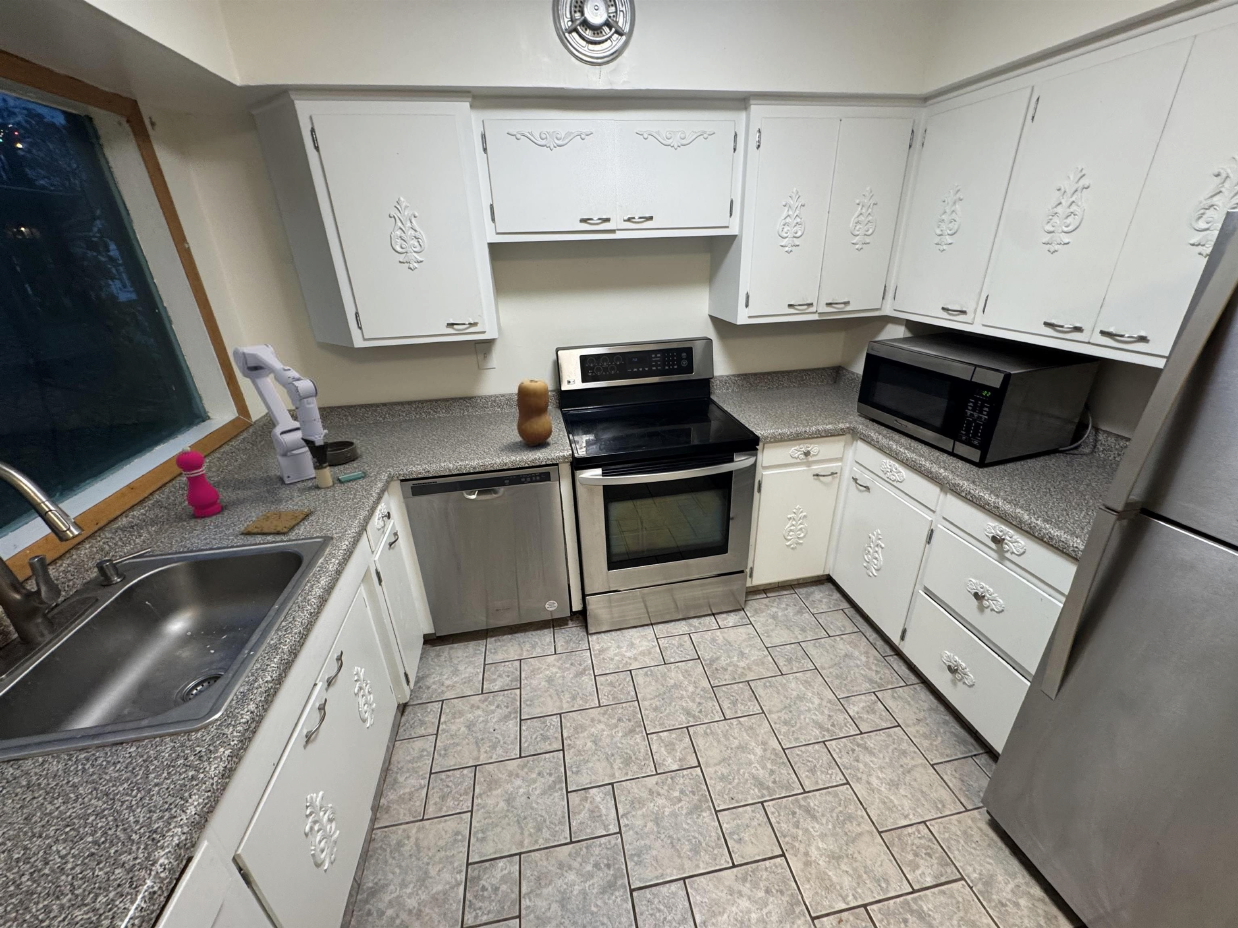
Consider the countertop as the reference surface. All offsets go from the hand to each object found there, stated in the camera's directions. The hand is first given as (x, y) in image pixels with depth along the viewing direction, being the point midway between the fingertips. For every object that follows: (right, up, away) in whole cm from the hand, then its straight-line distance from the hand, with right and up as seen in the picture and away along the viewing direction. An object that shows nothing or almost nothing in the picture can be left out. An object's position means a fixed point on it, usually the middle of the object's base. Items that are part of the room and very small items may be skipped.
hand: (319, 460), depth 158 cm
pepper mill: (-24, -15, -13) cm, 31 cm away
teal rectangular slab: (+5, -6, +9) cm, 12 cm away
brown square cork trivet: (0, -17, -20) cm, 26 cm away
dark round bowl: (-8, +1, +24) cm, 25 cm away
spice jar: (0, -8, +3) cm, 8 cm away
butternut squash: (+62, +7, +37) cm, 72 cm away
